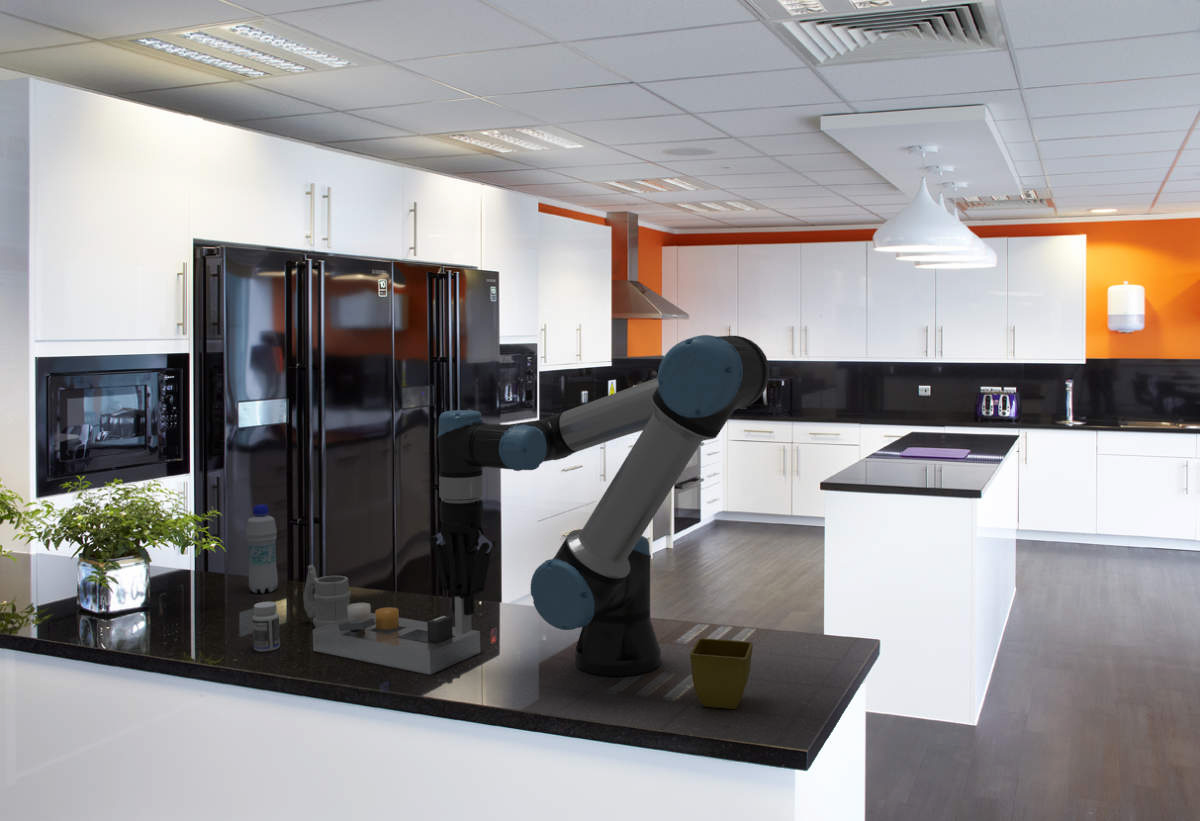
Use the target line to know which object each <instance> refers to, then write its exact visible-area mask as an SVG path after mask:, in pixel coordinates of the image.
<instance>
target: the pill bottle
mask: <svg viewBox="0 0 1200 821" xmlns="http://www.w3.org/2000/svg"><path fill="white" fill-rule="evenodd" d="M253 613H254V615H252V619H251V620H252V639H253V650H255V652H260V653H261V652H263V653H264V652H271V651H276V650H278V649H279V648H280V647H281V639H280V638H281V636H280V631H281V630H280V616H279V613H278V612H277V603H276V602H275V601H262V602H256V603H255V604H254V605H253Z"/></svg>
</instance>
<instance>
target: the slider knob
mask: <svg viewBox="0 0 1200 821" xmlns="http://www.w3.org/2000/svg"><path fill="white" fill-rule="evenodd" d="M426 622H427V628H428V642H433V643H440V642H442V641H445V640H447V639H450V638H452V637H453V634H452V627H453V617H452V616H447V615H446V616H445V615H441V616H438V617H435V618H433V619H430V620H428V621H426Z"/></svg>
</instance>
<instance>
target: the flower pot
mask: <svg viewBox="0 0 1200 821" xmlns="http://www.w3.org/2000/svg"><path fill="white" fill-rule="evenodd" d="M753 646H754V643H753V642H751V641H743V640H730V639H720V638H718V639H717V638H714V639H713V638H700V637H699V638H698V639H697V640H696V643H695V644H694V646H693V648H692V649H691V651H690V653H689V656H690V657H689V658H690V666H691V675H692V684H693V687H694V691H695V694H696V696H697V698H698V700H699V702H700V703H701V705H702V706H703V707H707V708H716V709H719V708H720V709H728V710H735V709H737V708H738V706H739V703H740V701H741V699H742V698H743V695H744V691H745V688H746V686H747V683H748V680H749V677H750V676H749V675H750V671H751V665H752V664H751V662H752V654H753Z"/></svg>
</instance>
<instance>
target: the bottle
mask: <svg viewBox="0 0 1200 821" xmlns="http://www.w3.org/2000/svg"><path fill="white" fill-rule="evenodd" d="M269 511H270V510H269V506H268V505H266V504H257V505H254V506H253V508H252V512H253V513H252V514H253V515H252V516H251V517H250V518H248V519H247V521H246V531H245V536H246V541H247V543H248V544H247V545H248V566H249V567H248V585H249V589H250V592H252V593H254V594H258V592H259V591H260V594H265V591H266V589H267V592H268V593H272V592H274V591H276V590H277V588H278V585H279V584H278V583H279V582H278V581H279V580H278V570H277V568H278V567H277V554H276V553H277V551H276V548H277V544H276V540H277V533H278V531H277V526H276V520H275V517H273V516H271V515H269V513H270V512H269Z"/></svg>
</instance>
